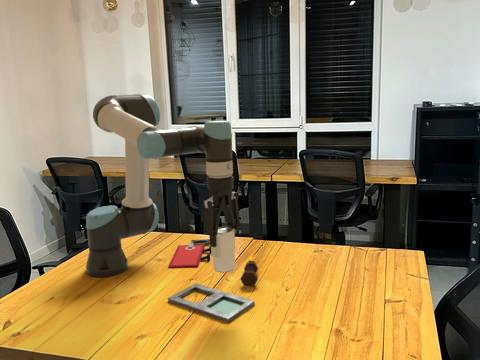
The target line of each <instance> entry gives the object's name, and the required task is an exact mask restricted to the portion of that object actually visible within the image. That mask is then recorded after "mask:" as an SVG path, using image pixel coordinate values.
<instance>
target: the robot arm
mask: <svg viewBox="0 0 480 360" xmlns="http://www.w3.org/2000/svg"><path fill="white" fill-rule="evenodd" d="M160 111H161V110H160V107H159V105H158V103H157V101H156V99H155V98H154V97H153V96H152V95H150V94H141V93H137V94H134V93H133V94H119V95H115V94H114V95H107V96H104V97H102V98H101V99H99V100H98V102H96V104H95V105H94V106H93V110H92V119H93V121H94V123H95V125H96V126H97V127H98V128H100V129H101V130H102V131H103V132H106V133H111V134H112V133H114V134H116V135H117V136H119V137H121V138H123V139H124V152H125V153H124V156H125V161H124V163H125V168H124V169H125V173H124V174H125V197H124V198H123V199H122V200H121V207H120V208H118V206H116V205H111V204H110V205H104V206H99V207H96V208H94V209H92V210H90V211H89V212H88V213H87V214H86V216H85V222H86V223H85V228H86V233H87V244H88V256H87V260H86V265H85V272H86V274H87V276H90V277H92V278H93V277H95V278H107V277H112V276H115V275H119V274H122V273H123V272H125V271H127V269H128V268H129V263H128V262H129V261H128V258H127V257H126V255H125V252H124V250H123V247H122V240H125V239H128V238H133V237H136V236H141V235H145V234H147V233H150V232H151V233H152V232H153V231H154V230H155V229H156V228H157V226H158V224H159V220H160V219H159V217H160V214H159V211H158V210H159V209H158V207H157V205H156V203H154V202H153V199H152V198H151V197H150V196H149V194H150V190H149V189H150V187H149V186H150V160H151V159H155V160H157V159H160V158H166V157H167V158H168V157H172V156H173V157H175V156H180V155H189V154H196V153H197V154H198V153H199V154H200V153H201V154H205V168H206V172H205V173H206V176H207V177H206V184H207V187H206V188H207V190H208V191H209V197H208V198H207V200H204V199H203V200H202V202H201V203H202V207H203V234H204V235H205V236H209V237H208V238H209V239H210V244H209V246H211V253H210V257H212V258H213V257H217V258H220V238H219V235H217V233H218V227H219V226H220V220H221V213H222V212H223V215H224V219H225V223H226V227H229V228H232V232H233V233H234V245H235V246H236V229H239V225H240V222H241V221H240V210H239V209H240V208H239V202H238V201H239V192H238V191H237V192H236V191H232V190H233V189H234V187H235V186H234V185H235V184H234V176H233V173H234V170H233V169H234V167H233V134H232V133H233V132H232V125H231V122H230V121H229V120H207V121H205V122H204V124H203V125H204V126H203V127H202V126H196V125H193V126H186V127H183V128H171V129H161V128H159V127H157V126H158V125H159V124H160V121H161V112H160ZM213 231H214V232H213Z"/></svg>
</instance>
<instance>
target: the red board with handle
mask: <svg viewBox="0 0 480 360" xmlns="http://www.w3.org/2000/svg"><path fill="white" fill-rule="evenodd" d="M207 245H209V247H208V248H206V246H207ZM208 252H209V253H208ZM204 253H206V255H205V256H203V254H204ZM206 260H207V262H210V261H211V246H210V238H208V239H205V238H204V239H191V241H190V242H189V243H188V244H182V245H181V244H179V245H177V248H176V250H175V252H174V253H173V256H172V258H171V260H170V262H169V264H168V267H167V268H168V269H175V268H176V269H179V268H183V269H184V268H185V269H186V268H189V269H190V268H199V267H200V262H201V261H206Z"/></svg>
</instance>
